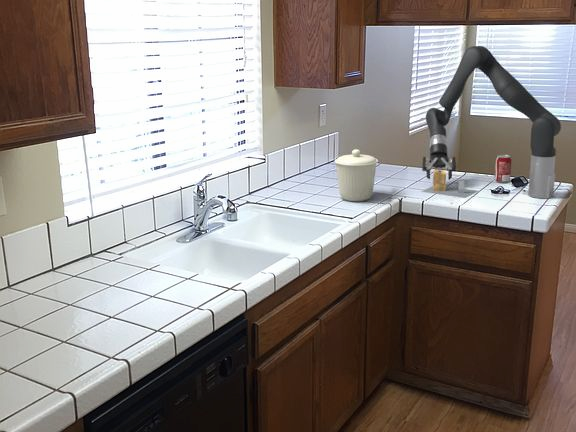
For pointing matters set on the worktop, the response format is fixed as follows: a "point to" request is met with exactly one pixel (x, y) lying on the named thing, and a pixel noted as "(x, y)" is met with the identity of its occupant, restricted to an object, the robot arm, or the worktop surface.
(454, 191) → the slate base plate
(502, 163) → the soda can
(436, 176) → the ochre knob
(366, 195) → the canister
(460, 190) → the metal shaft
